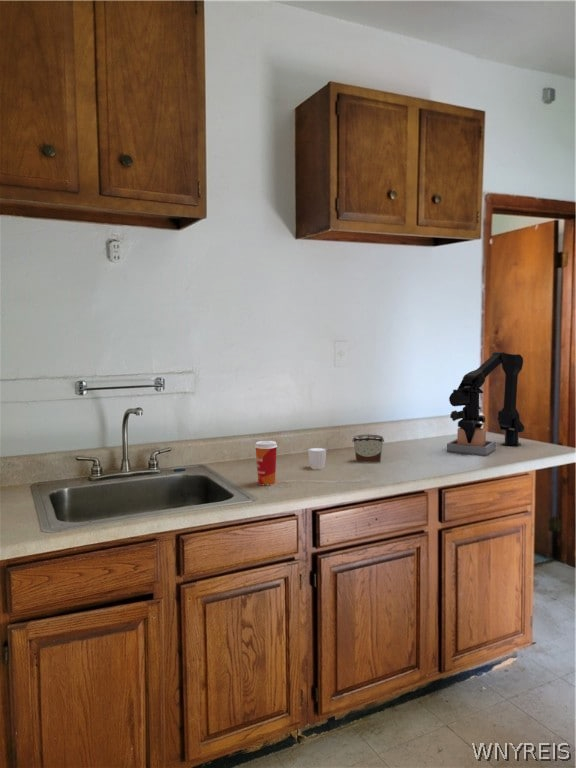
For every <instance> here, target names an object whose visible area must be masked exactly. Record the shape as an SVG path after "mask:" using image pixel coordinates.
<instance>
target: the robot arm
mask: <svg viewBox="0 0 576 768" xmlns="http://www.w3.org/2000/svg"><path fill="white" fill-rule="evenodd" d="M500 365H501V368H502V370H503V372H504V375H505V376H504V377H505V379H504V391H503V392H504V394H503V395H504V397H503V407H502V408H501V410H498V412H497V421H498V425H499V429H500V430H501V431H504V442H502V444H501V445H502V446H509V447H510V446H511V447H519V446H521V443H522V442H519V441H520V439H519V435H520V433H522V432H524V430H525V426H524V424H523V423H522V422H521V421H520V413H519V411H518V409H517V395H518V380H519V379H518V377H519V374H520V372H521V371H522V369H523V365H524V357H522V355H521V354H519V353H516V354H515V353H506V352H504V351H494V352H493V353H492V355H491V356H490V357H489V358H488V359H486V360H485V361H484V362H483V363H482V364H481V365H480V366H479V367H478V368H477V369H474V370H471V371H469V372H468V373H466V374H465V375H464V376H463V377H462V380H461V381H460V384H459V385H458V387H457V389H453V390H452V393H450V396H449V397H448V401H449V404H450V405H451V406H452V407H461V406H463V408H462V409H461V410H460V411H458V410H453V411H451V412H450V414H449V415H450V416H449V417H450V419H451V420H452V422H455V421H457V420H458V422H457V427H458V428H462V429H463V430H464V431H465V434H466V438H467V441H468V443H471V441H472V438H473V436H474V433H475V430H476V428H483V425H484V423H486V416H484V415H483V414H482V415H480V410H481V408H482V407H481V406H480V394H483V393H484V391H483V390H482V389H481V387H482V386H484V384H485V383H486V378H487V377H488V376H489V375H490V374H491V373H493V372H494V370H495V369H496V368H497V367H498V366H500Z"/></svg>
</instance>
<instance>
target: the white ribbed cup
mask: <svg viewBox="0 0 576 768" xmlns="http://www.w3.org/2000/svg"><path fill="white" fill-rule="evenodd" d="M307 451H308V453H307V454H308V462H309V468H310V467H311V468H317V469H319V468H324V467H325V468H326V459H327V458H326V457H327V448H324V447H312V448H308V449H307ZM311 468H310V469H311ZM325 468H324V469H325ZM319 470H320V469H319Z"/></svg>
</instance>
